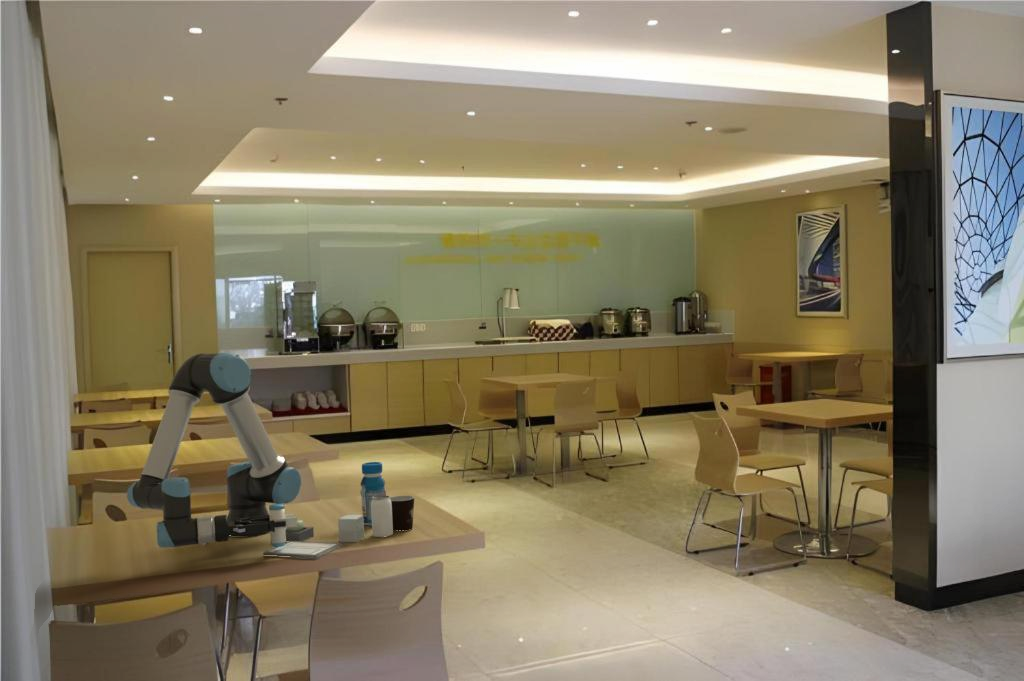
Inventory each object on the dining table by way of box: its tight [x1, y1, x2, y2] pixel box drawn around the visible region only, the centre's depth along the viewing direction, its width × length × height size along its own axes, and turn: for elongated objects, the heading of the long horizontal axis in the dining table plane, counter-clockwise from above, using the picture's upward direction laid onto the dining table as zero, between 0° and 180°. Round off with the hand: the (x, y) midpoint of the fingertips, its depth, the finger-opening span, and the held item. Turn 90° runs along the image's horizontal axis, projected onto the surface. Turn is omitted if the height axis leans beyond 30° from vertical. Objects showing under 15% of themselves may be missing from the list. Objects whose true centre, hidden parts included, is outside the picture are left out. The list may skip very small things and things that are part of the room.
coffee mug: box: [389, 495, 415, 532], centre depth 298 cm, size 12×9×10 cm
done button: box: [287, 519, 304, 532], centre depth 290 cm, size 5×5×3 cm
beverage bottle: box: [360, 461, 387, 526], centre depth 307 cm, size 8×8×20 cm
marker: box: [268, 503, 286, 548], centre depth 273 cm, size 4×4×12 cm
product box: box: [337, 514, 365, 543], centre depth 285 cm, size 6×6×7 cm
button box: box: [285, 526, 315, 541], centre depth 290 cm, size 8×8×3 cm
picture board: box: [262, 540, 342, 560], centre depth 274 cm, size 18×14×1 cm
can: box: [371, 495, 394, 538], centre depth 289 cm, size 6×6×12 cm
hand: (295, 520), depth 275 cm, fingers closed on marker, 4 cm apart
